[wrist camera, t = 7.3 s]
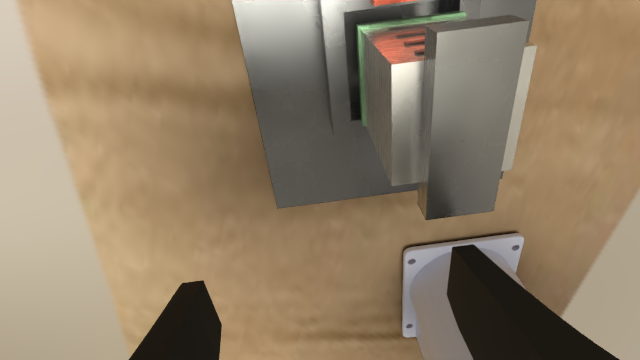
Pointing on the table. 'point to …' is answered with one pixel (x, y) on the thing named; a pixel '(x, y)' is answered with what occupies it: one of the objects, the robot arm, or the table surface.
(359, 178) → the stand
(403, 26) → the grey block
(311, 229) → the table surface
